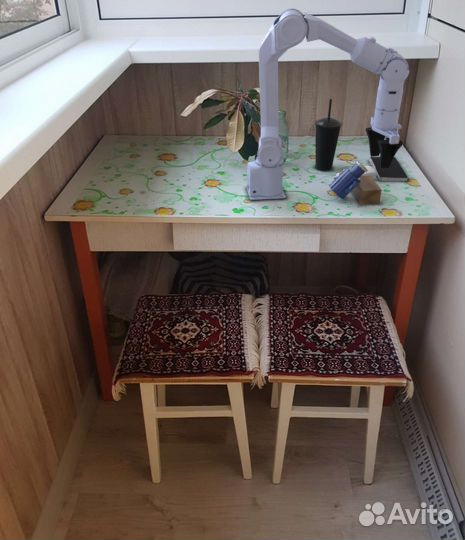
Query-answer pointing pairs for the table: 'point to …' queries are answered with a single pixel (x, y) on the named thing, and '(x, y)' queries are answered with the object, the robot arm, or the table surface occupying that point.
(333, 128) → the drinking cup
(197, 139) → the table surface
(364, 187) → the oak block
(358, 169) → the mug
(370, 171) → the eye dropper bottle
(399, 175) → the smartphone
